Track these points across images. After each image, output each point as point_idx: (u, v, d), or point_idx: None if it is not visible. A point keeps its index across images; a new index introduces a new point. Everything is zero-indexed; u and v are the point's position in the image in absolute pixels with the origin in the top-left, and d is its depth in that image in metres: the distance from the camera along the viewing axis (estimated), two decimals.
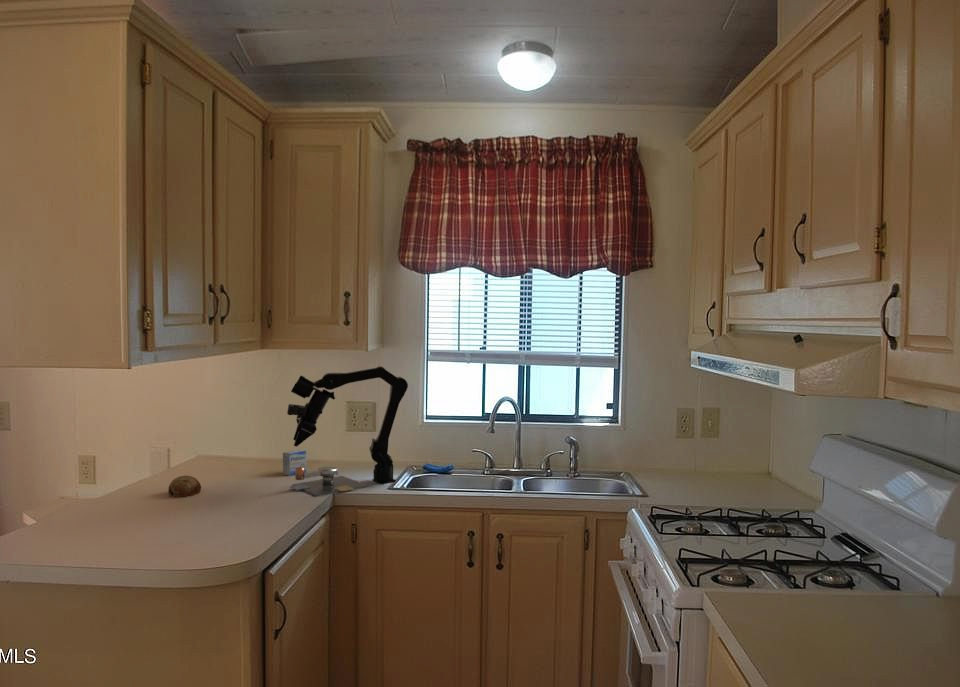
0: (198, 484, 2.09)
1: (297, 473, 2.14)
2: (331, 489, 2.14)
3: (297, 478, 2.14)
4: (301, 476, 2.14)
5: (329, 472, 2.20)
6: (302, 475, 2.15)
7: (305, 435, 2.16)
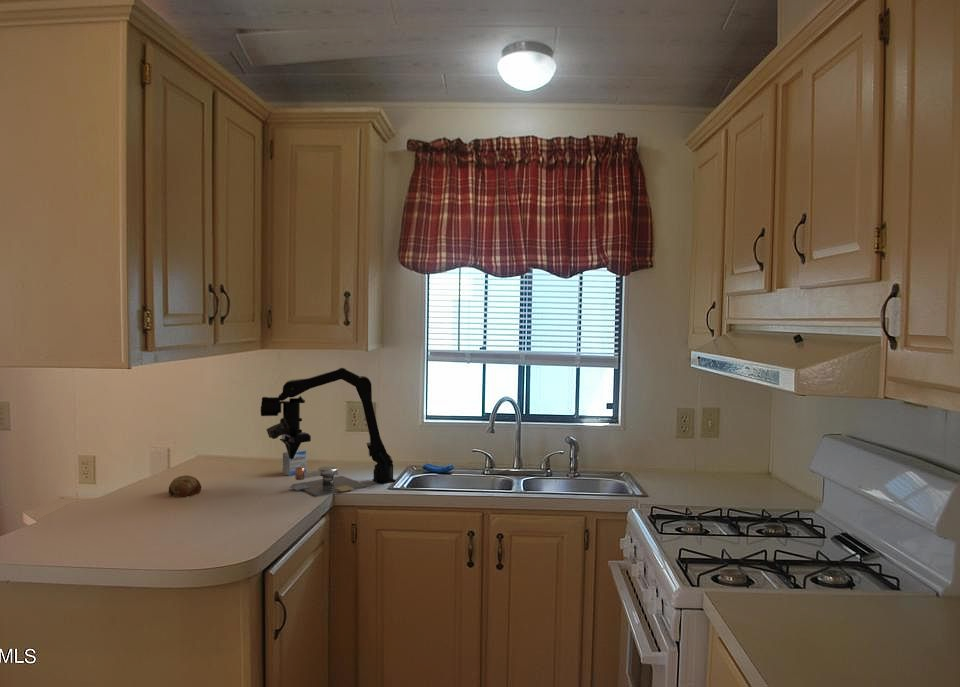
0: (198, 484, 2.09)
1: (297, 473, 2.14)
2: (331, 489, 2.14)
3: (297, 478, 2.14)
4: (301, 476, 2.14)
5: (329, 472, 2.20)
6: (302, 475, 2.15)
7: (296, 444, 2.20)
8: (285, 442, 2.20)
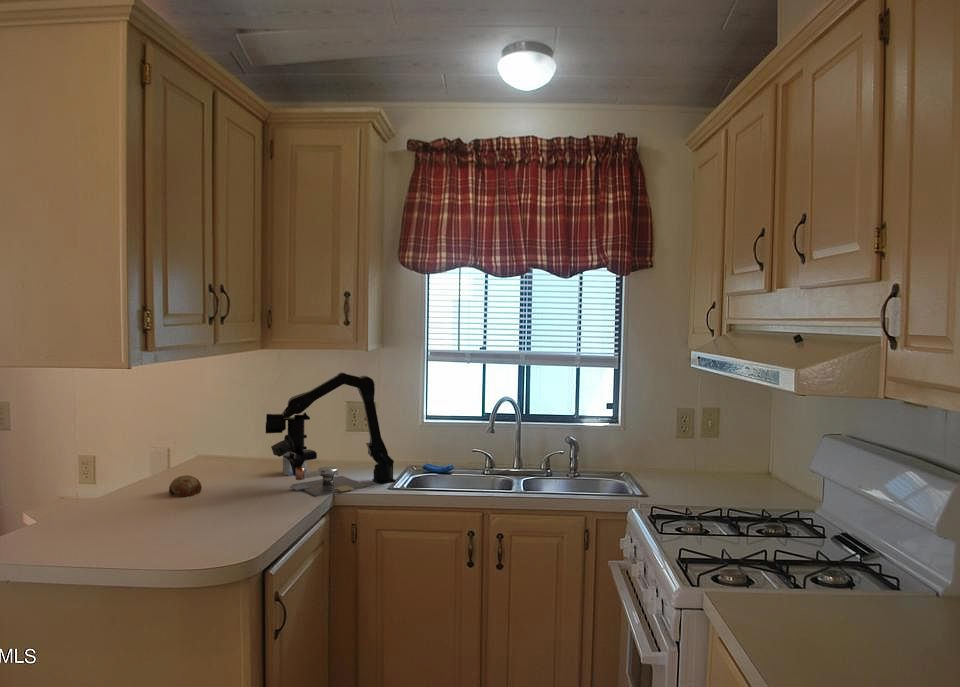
0: (199, 484, 2.09)
1: (297, 473, 2.14)
2: (331, 489, 2.14)
3: (297, 478, 2.14)
4: (301, 476, 2.14)
5: (329, 472, 2.20)
6: (302, 475, 2.15)
7: (300, 461, 2.18)
8: (290, 459, 2.17)
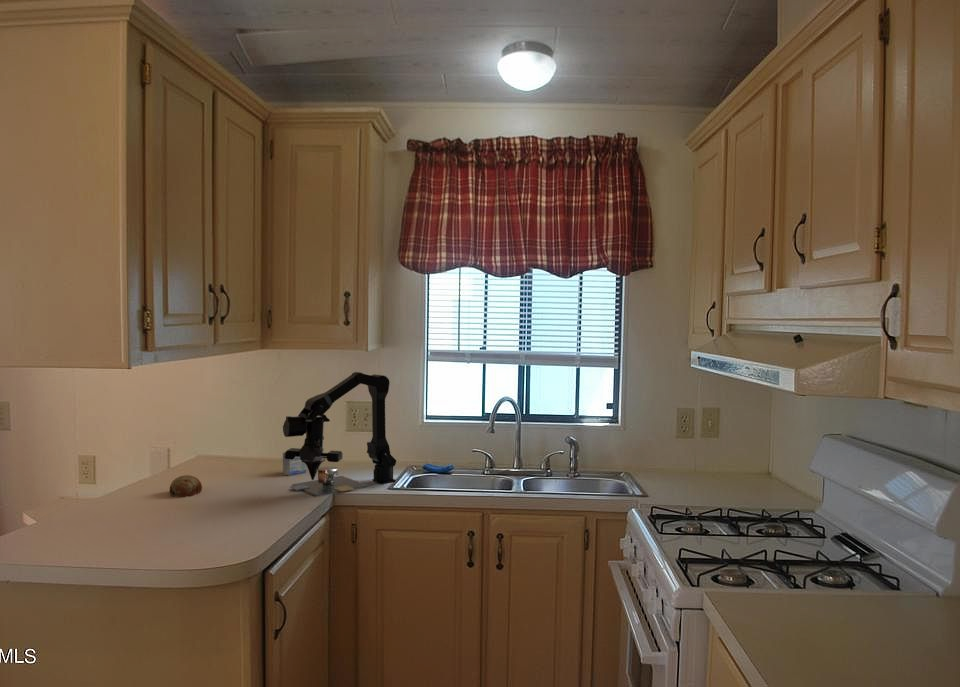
0: (199, 484, 2.10)
1: (324, 476, 2.11)
2: (331, 489, 2.14)
3: (324, 481, 2.11)
4: (326, 478, 2.12)
5: (336, 471, 2.22)
6: (326, 477, 2.12)
7: (318, 464, 2.13)
8: (310, 463, 2.10)
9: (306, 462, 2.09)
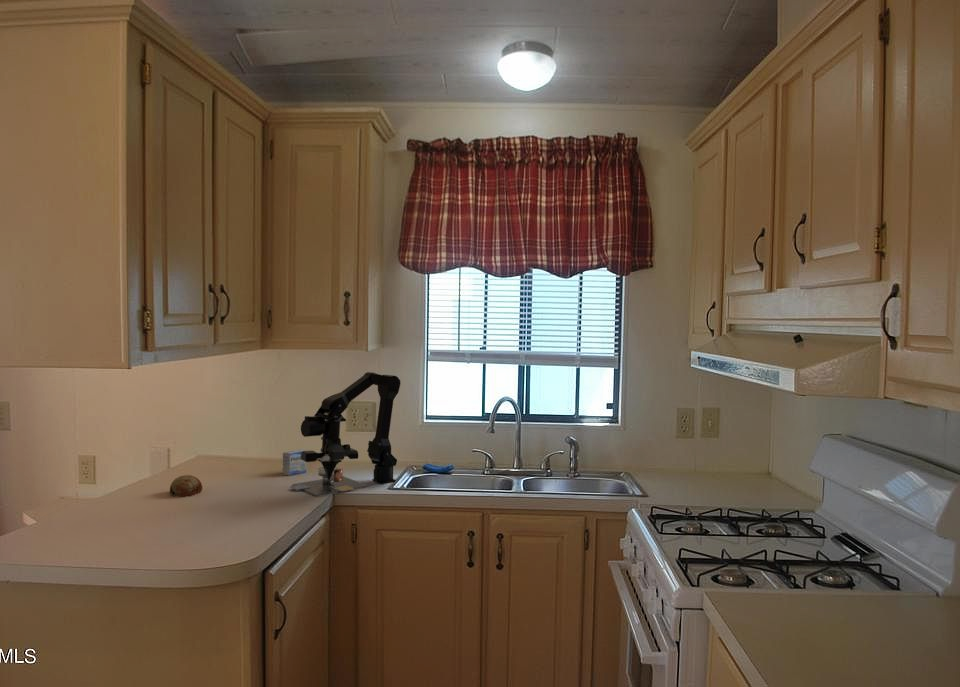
0: (199, 484, 2.10)
1: (341, 474, 2.13)
2: (331, 489, 2.14)
3: (341, 480, 2.13)
4: None
5: None
6: None
7: None
8: (330, 463, 2.10)
9: (328, 462, 2.09)
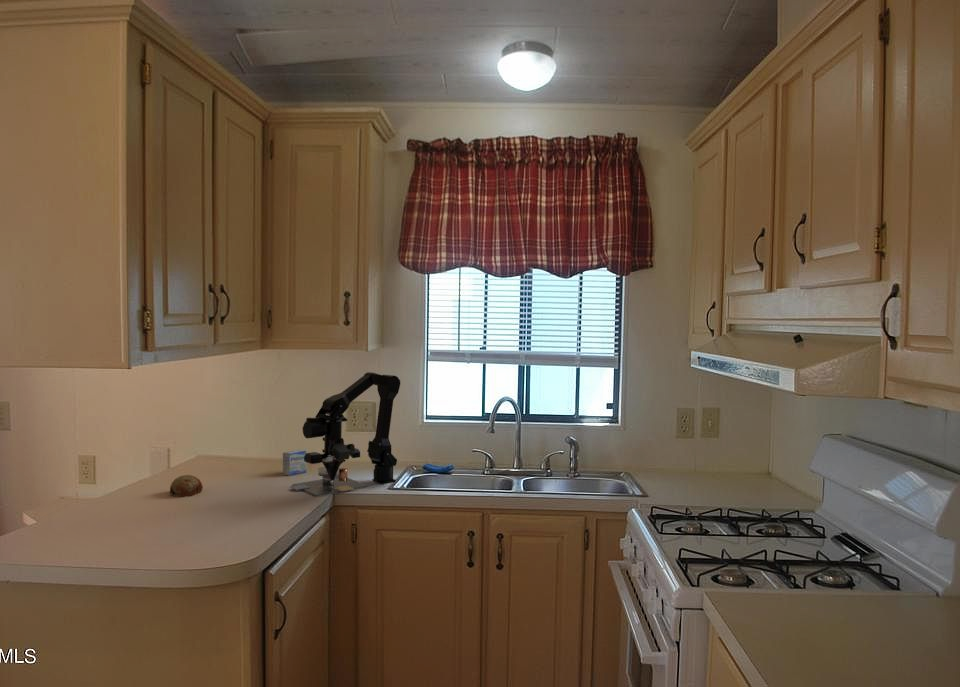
0: (199, 483, 2.10)
1: (346, 474, 2.14)
2: (331, 489, 2.14)
3: (346, 479, 2.14)
4: None
5: None
6: None
7: None
8: (333, 464, 2.10)
9: (331, 463, 2.09)
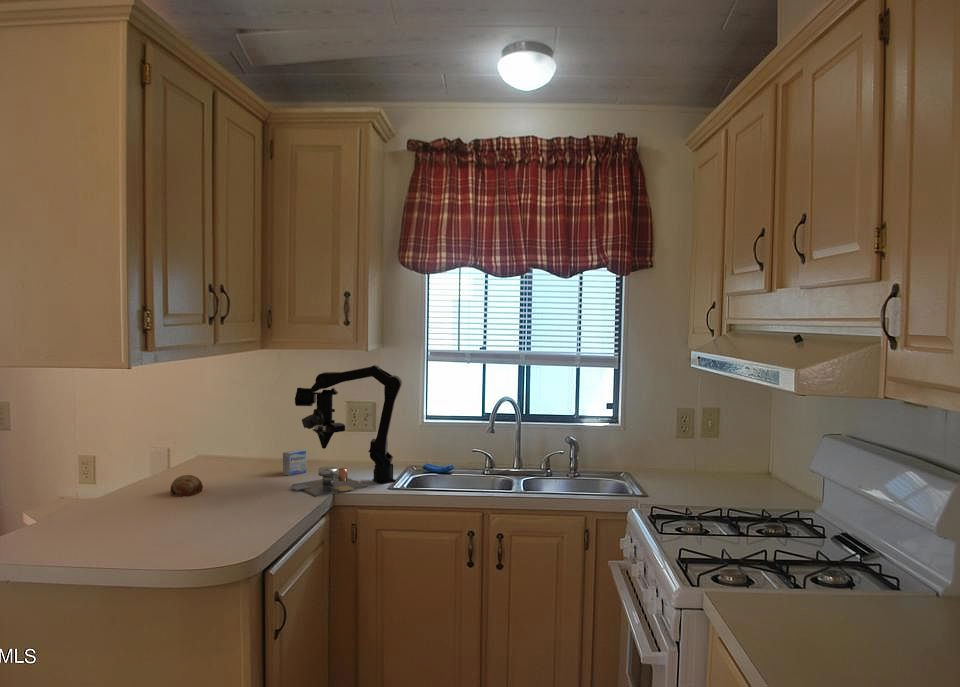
0: (200, 483, 2.10)
1: (346, 474, 2.14)
2: (331, 489, 2.14)
3: (346, 479, 2.14)
4: None
5: None
6: None
7: (329, 434, 2.27)
8: (318, 432, 2.26)
9: (315, 431, 2.27)
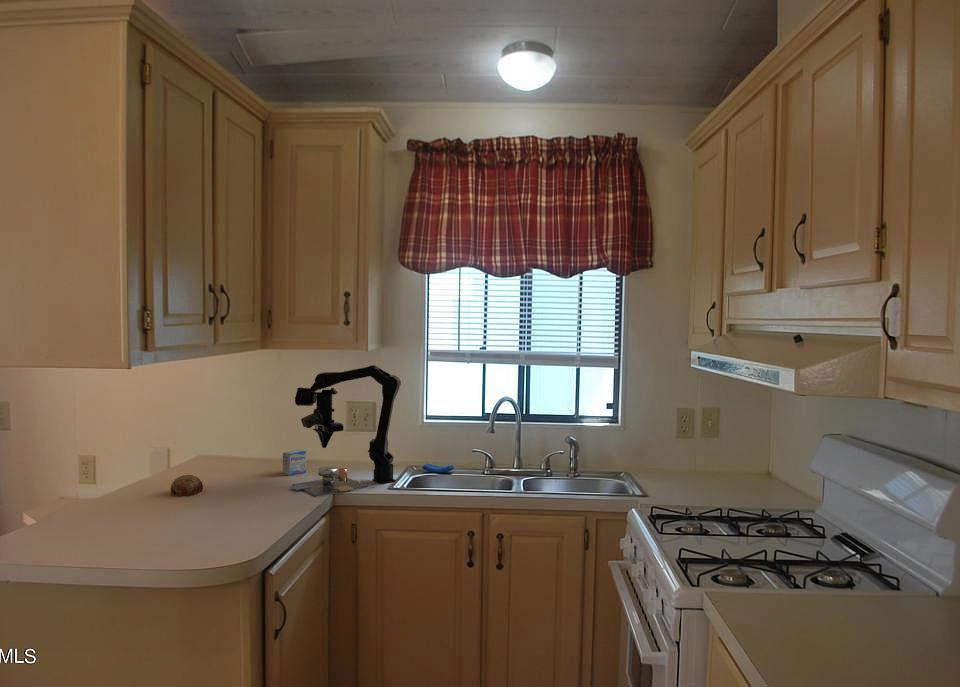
0: (200, 483, 2.10)
1: (346, 474, 2.14)
2: (331, 489, 2.14)
3: (346, 479, 2.14)
4: None
5: None
6: None
7: (329, 434, 2.29)
8: (318, 432, 2.28)
9: (315, 430, 2.29)
